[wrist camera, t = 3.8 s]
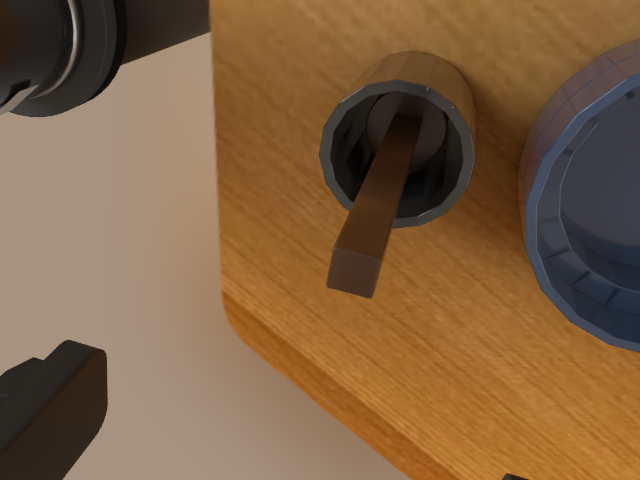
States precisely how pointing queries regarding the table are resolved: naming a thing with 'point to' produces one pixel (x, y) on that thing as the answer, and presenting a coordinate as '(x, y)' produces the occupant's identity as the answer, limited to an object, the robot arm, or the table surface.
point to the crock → (424, 179)
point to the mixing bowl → (588, 197)
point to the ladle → (384, 186)
